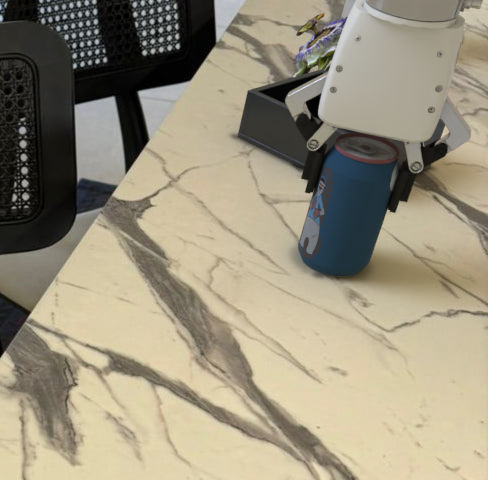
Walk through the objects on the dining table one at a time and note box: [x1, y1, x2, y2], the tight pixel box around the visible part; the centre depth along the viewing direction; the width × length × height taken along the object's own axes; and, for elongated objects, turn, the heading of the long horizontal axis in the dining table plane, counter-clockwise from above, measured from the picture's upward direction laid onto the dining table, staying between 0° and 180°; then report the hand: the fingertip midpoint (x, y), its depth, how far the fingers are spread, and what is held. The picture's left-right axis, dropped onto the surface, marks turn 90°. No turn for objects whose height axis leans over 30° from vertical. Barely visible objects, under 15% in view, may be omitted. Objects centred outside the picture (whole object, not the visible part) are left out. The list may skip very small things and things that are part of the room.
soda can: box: [297, 133, 400, 278], centre depth 96 cm, size 7×7×12 cm
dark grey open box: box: [237, 69, 446, 174], centre depth 117 cm, size 18×14×6 cm
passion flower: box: [292, 12, 348, 78], centre depth 132 cm, size 11×11×12 cm
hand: (351, 195), depth 95 cm, fingers closed on soda can, 7 cm apart
